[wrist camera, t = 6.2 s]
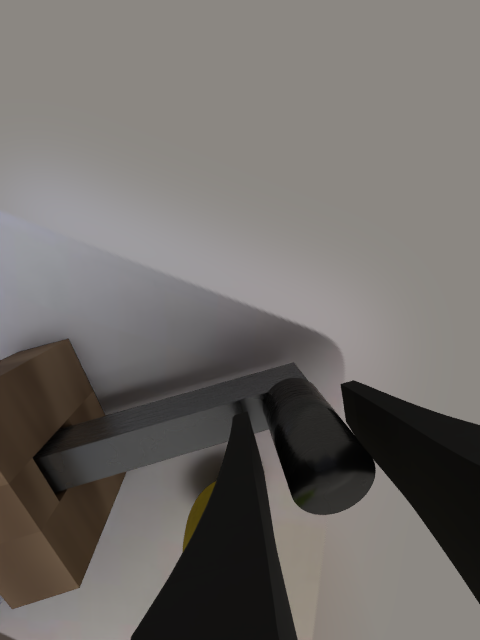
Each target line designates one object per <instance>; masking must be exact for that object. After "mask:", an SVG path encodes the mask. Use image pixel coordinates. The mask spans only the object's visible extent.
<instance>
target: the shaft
mask: <svg viewBox="0 0 480 640" xmlns="http://www.w3.org/2000/svg"><path fill="white" fill-rule="evenodd" d="M247 411H248V414H249V418H250V421H251V425H252V429H253V432H254V433H258V432H261V431H264V430H268V429H269V430H270V433H271V436H272V439H273V442H274V445H275V448H276V451H277V454H278V457H279V460H280V463H281V466H282V469H283V472H284V475H285V478H286V481H287V483H288V486H289V489H290V492H291V495H292V498H293V500H294V502H295V503H296V504H297V505H298V506H299V507H300V508H301V509H303V510H304V511H307V512H309V513H312V514H318V515H328V514H334V513H338V512H341V511H343V510H346V509H348V508H350V507H351V506H353V505H355V504H356V503H357V502H359V501H360V500H361V499H362V498H363V497H364V496H365V495H366V494H367V492H368V491H369V489H370V488H371V486H372V484H373V481H374V478H375V463H374V460H373V458H372V457H371V455H370V454H369V452H368V451H367V450H366V449H365V448H364V446H363V445H362V444H361V443H360V441H359V440H358V439H357V438H356V436H355V435H354V434H353V433H352V432H351V430H350V429H349V428H348V427H347V425H346V424H345V423H344V422H343V421H342V419H341V418H340V417H339V416H338V414H337V413H336V412H335V411H334V409H333V408H332V407H331V406H330V404H329V403H328V402H327V401H326V400H325V398H324V397H323V396H322V395H321V393H320V392H319V391H318V390H317V388H316V387H315V386H314V385H313V384H312V383H311V382H309V381H308V380H307V379H306V377H305V376H304V375H303V374H302V372H301V371H300V370H299V369H298V367H297V366H296V365H295V363H290V364H287V365H283V366H280V367H276V368H273V369H269V370H266V371H262V372H259V373H255V374H251V375H248V376H244V377H241V378H237V379H234V380H230V381H227V382H223V383H220V384H216V385H213V386H209V387H206V388H202V389H199V390H195V391H191V392H188V393H184V394H181V395H177V396H174V397H170V398H167V399H163V400H160V401H156V402H153V403H149V404H146V405H142V406H139V407H135V408H131V409H128V410H124V411H121V412H117V413H114V414H110V415H107V416H103V417H100V418H96V419H93V420H89V421H86V422H82V423H79V424H75V425H72V426H68V427H64V428H61V429H58V430H57V431H56V432H55V434H54V435H53V436H52V437H51V438H50V439H49V440H48V441H47V442H46V443H45V445H44V446H43V447H42V448H41V449H40V450H39V451H38V452H37V453H36V454H35V456H34V457H33V460H34V462H35V463H36V465H37V466H38V468H39V470H40V471H41V473H42V474H43V476H44V478H45V479H46V481H47V482H48V484H49V486H50V487H51V489H52V491H53V492H54V493H55V492H58V491H62V490H65V489H69V488H72V487H75V486H79V485H82V484H85V483H89V482H92V481H96V480H99V479H102V478H106V477H109V476H112V475H116V474H119V473H123V472H126V471H129V470H133V469H136V468H139V467H143V466H146V465H150V464H153V463H156V462H160V461H163V460H166V459H170V458H173V457H177V456H180V455H183V454H187V453H190V452H194V451H197V450H200V449H204V448H207V447H210V446H214V445H217V444H221V443H224V442H227V441H229V437H230V432H231V426H232V418H233V416H234V415H236V414H240V413H243V412H247Z"/></svg>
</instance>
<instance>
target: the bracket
mask: <svg viewBox="0 0 480 640" xmlns="http://www.w3.org/2000/svg"><path fill="white" fill-rule="evenodd" d="M103 416H105V414H104V412H103V410H102V408H101V406H100V404H99V402H98V400H97V398H96V396H95V393H94V391H93V389H92V387H91V385H90V383H89V381H88V379H87V377H86V375H85V373H84V371H83V369H82V366H81V364H80V362H79V360H78V358H77V356H76V354H75V352H74V350H73V348H72V346H71V344H70V341H69V339H66V340H62V341H58V342H54V343H51V344H47V345H43V346H39V347H36V348H32V349H28V350H24V351H20V352H17V353H15V354H13V355H11V356H9V357H7V358H5V359H3V360H0V595H1V596H2V598H3V599H4V600H5V601H6V602H7V604H8V605H9V606H10V607H11V608H12V609H14V608H18V607H21V606H24V605H27V604H30V603H33V602H36V601H40V600H43V599H46V598H49V597H52V596H55V595H59V594H62V593H65V592H68V591H71V590H74V589H77V588H80V585H81V583H82V580H83V578H84V575H85V573H86V571H87V568H88V566H89V563H90V561H91V558H92V556H93V553H94V551H95V548H96V546H97V543H98V541H99V538H100V536H101V534H102V531H103V529H104V526H105V524H106V521H107V519H108V516H109V514H110V511H111V509H112V506H113V504H114V501H115V499H116V496H117V494H118V492H119V489H120V487H121V484H122V482H123V479H124V477H125V474H126V472H127V471H126V472H123V473H119V474H116V475H112V476H109V477H106V478H102V479H99V480H96V481H92V482H89V483H85V484H82V485H79V486H75V487H72V488H69V489H65V490H62V491H58V492H55V493H54V492H53V491H52V489H51V487H50V486H49V484H48V482H47V481H46V479H45V478H44V476H43V474H42V473H41V471H40V470H39V468H38V466H37V465H36V463H35V462H34V460H33V457H34V456H35V454H36V453H37V452H38V451H39V450H40V449H41V448H42V447H43V446H44V445H45V443H46V442H47V441H48V440H49V439H50V438H51V437H52V436H53V435H54V434H55V432H56V431H57V430H58V429H61V428H64V427H68V426H72V425H75V424H79V423H82V422H86V421H89V420H93V419H96V418H100V417H103Z"/></svg>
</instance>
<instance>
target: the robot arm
mask: <svg viewBox="0 0 480 640" xmlns="http://www.w3.org/2000/svg"><path fill="white" fill-rule="evenodd" d="M341 390H342V397H343V404H344V411H345V418H346V422H347V424H348V425H349V427H350V428H351V430H352V432H353V433H354V435H355V436H356V438H357V439H358V440H359V441H360V443H361V444H362V445H363V446H364V448H365V449H366V450H367V451H368V452H369V454H370V455H371V457H372V458H373V459H374V461H375V462H376V463H377V464H378V465H379V467H380V468H381V469H382V470H383V471H384V472H385V474H386V475H387V476H388V477H389V478H390V479H391V481H392V482H393V483H394V484H395V486H396V487H397V488H398V489H399V490H400V491H401V493H402V494H403V495H404V496H405V498H406V499H407V500H408V501H409V503H410V504H411V505H412V507H413V508H414V509H415V511H416V512H417V514H418V515H419V516H420V518H421V519H422V521H423V522H424V523H425V525H426V526H427V528H428V529H429V530H430V532H431V533H432V534H433V536H434V537H435V539H436V540H437V542H438V543H439V545H440V546H441V547H442V549H443V550H444V552H445V553H446V554H447V556H448V557H449V559H450V560H451V562H452V563H453V565H454V566H455V568H456V569H457V571H458V572H459V574H460V575H461V576H462V578H463V580H464V581H465V582H466V584H467V585H468V587H469V589H470V590H471V592H472V593H473V595H474V596H475V598H476V599H477V601H478V602H479V604H480V425H477V424H473V423H470V422H466V421H463V420H460V419H456V418H452V417H450V416H446V415H443V414H440V413H437V412H434V411H431V410H428V409H426V408H423V407H420V406H417V405H414V404H412V403H409V402H406V401H404V400H401V399H399V398H396V397H394V396H391V395H389V394H386V393H384V392H381V391H379V390H376V389H374V388H372V387H369V386H367V385H364V384H362V383H359V382H356V381H350V382H346V383H343V384H341ZM2 600H4V599H3V598H2V596H1V595H0V604H1V602H2ZM131 640H297V635H296V631H295V627H294V622H293V618H292V614H291V610H290V605H289V601H288V597H287V592H286V588H285V584H284V579H283V575H282V571H281V566H280V562H279V558H278V553H277V548H276V543H275V538H274V532H273V526H272V519H271V513H270V507H269V500H268V494H267V488H266V481H265V475H264V470H263V466H262V462H261V458H260V454H259V450H258V447H257V443H256V439H255V436H254V432H253V429H252V425H251V421H250V418H249V414H248V411H247V412H243V413H240V414H236V415H234V416H233V418H232V426H231V432H230V437H229V441H228V445H227V449H226V453H225V456H224V460H223V463H222V466H221V469H220V472H219V475H218V478H217V480H216V483H215V486H214V488H213V491H212V493H211V496H210V498H209V500H208V503H207V505H206V507H205V510H204V512H203V514H202V516H201V518H200V520H199V522H198V524H197V527H196V529H195V531H194V533H193V535H192V537H191V538H190V540H189V542H188V544H187V546H186V548H185V549H184V551H183V553H182V555H181V557H180V558H179V560H178V562H177V564H176V566H175V567H174V569H173V571H172V573H171V575H170V576H169V578H168V580H167V581H166V583H165V585H164V586H163V588H162V589H161V591H160V593H159V594H158V596H157V597H156V599H155V600H154V602H153V604H152V605H151V607H150V608H149V610H148V611H147V613H146V615H145V616H144V618H143V619H142V621H141V622H140V624H139V626H138V627H137V629H136V630H135V632H134V633H133V635H132V636H131Z"/></svg>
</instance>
